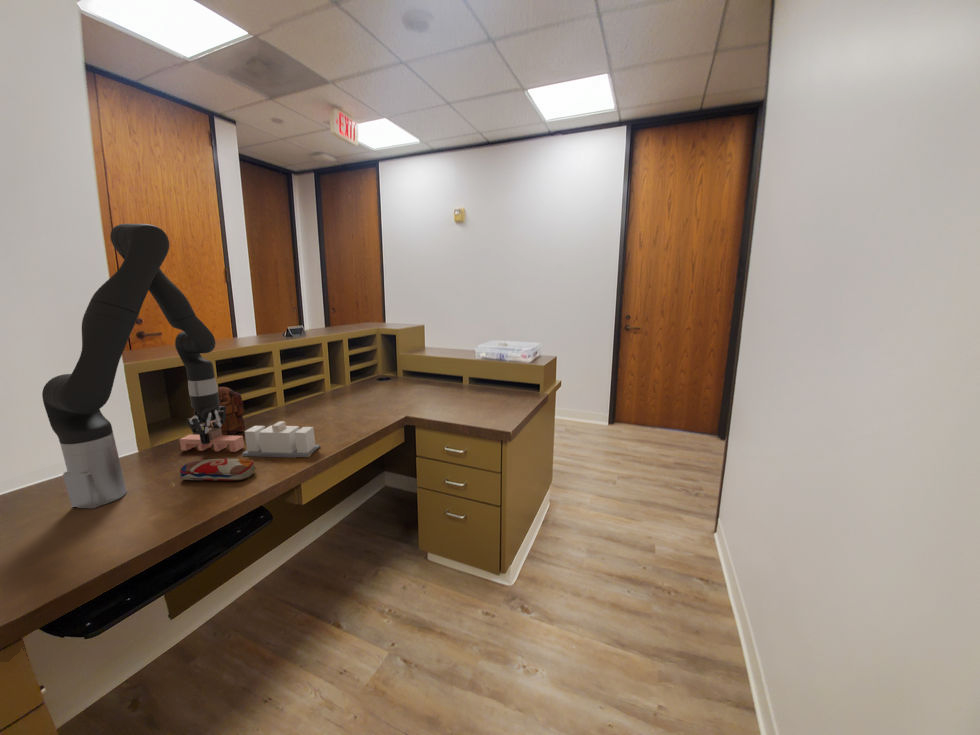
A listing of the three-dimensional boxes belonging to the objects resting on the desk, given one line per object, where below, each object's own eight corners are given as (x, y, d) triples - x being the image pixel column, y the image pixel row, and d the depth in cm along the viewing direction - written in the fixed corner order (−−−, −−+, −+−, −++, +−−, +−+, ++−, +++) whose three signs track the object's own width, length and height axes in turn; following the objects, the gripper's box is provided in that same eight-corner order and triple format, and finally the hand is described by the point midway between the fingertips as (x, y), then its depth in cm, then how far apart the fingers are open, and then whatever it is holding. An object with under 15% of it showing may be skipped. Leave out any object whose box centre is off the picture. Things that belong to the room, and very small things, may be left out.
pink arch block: (235, 452, 123) (232, 433, 122) (180, 450, 124) (177, 432, 123) (244, 446, 128) (242, 428, 126) (192, 445, 129) (188, 427, 127)
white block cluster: (307, 457, 120) (304, 428, 118) (242, 456, 122) (238, 427, 120) (320, 447, 128) (317, 419, 126) (258, 445, 129) (254, 418, 127)
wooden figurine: (210, 440, 134) (201, 392, 130) (207, 435, 139) (199, 388, 135) (248, 431, 142) (241, 386, 138) (244, 427, 147) (237, 382, 143)
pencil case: (227, 492, 101) (224, 475, 100) (174, 482, 106) (171, 466, 105) (261, 473, 111) (259, 457, 110) (212, 464, 116) (209, 449, 115)
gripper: (196, 398, 115) (205, 450, 118) (230, 386, 129) (237, 433, 132) (173, 398, 115) (183, 449, 119) (210, 386, 129) (217, 432, 133)
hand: (212, 440), depth 125 cm, fingers closed on pink arch block, 4 cm apart
